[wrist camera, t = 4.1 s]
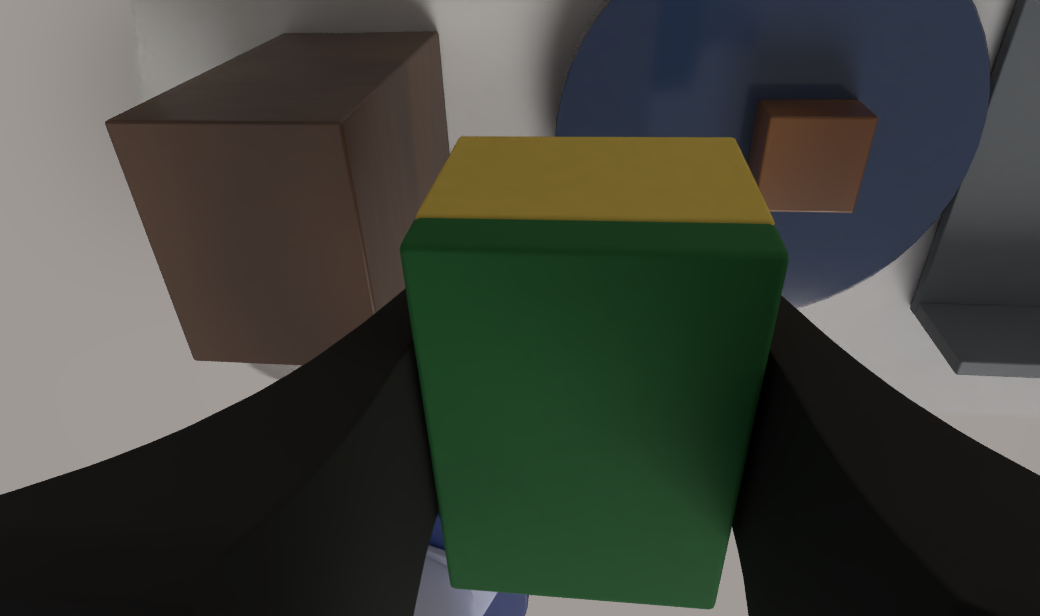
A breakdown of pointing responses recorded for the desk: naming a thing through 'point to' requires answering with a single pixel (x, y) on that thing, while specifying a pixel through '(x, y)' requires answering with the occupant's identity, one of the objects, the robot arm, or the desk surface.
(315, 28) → the desk surface
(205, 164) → the brown wooden block
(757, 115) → the orange-brown cube
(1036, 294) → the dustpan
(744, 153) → the plate
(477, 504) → the sponge
